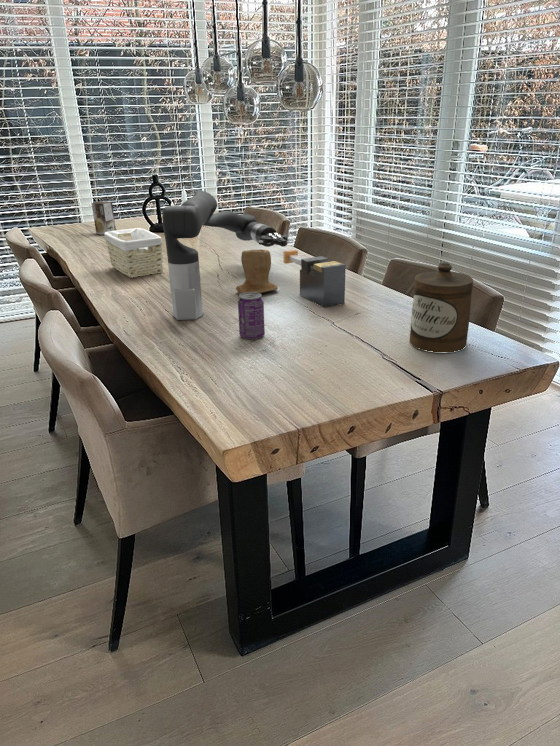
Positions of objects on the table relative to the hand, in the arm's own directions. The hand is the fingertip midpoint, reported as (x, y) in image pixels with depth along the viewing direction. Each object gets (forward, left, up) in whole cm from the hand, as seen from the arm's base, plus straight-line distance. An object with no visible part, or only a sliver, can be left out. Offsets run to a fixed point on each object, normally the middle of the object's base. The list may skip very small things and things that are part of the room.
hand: (284, 243), depth 208 cm
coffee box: (+102, +89, -14) cm, 136 cm away
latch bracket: (-24, -11, -14) cm, 30 cm away
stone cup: (-13, +11, -14) cm, 22 cm away
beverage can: (-56, +12, -14) cm, 59 cm away
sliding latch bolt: (-12, -5, -6) cm, 14 cm away
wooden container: (-66, -38, -14) cm, 77 cm away
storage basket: (+23, +59, -14) cm, 65 cm away
